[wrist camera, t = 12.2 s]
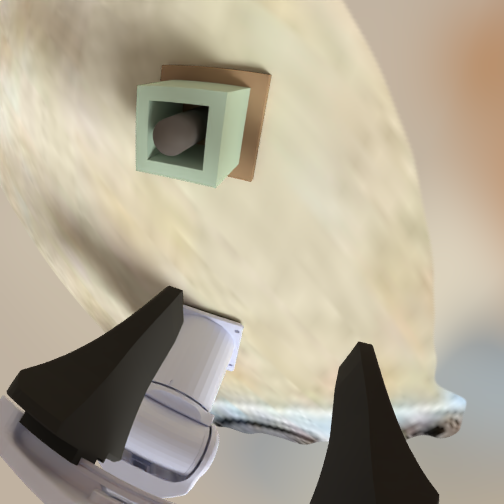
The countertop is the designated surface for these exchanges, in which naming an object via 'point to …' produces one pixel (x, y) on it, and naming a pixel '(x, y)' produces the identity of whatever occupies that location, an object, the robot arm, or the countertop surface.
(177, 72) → the post base
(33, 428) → the robot arm
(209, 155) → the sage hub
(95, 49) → the countertop surface
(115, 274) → the countertop surface
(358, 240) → the countertop surface
